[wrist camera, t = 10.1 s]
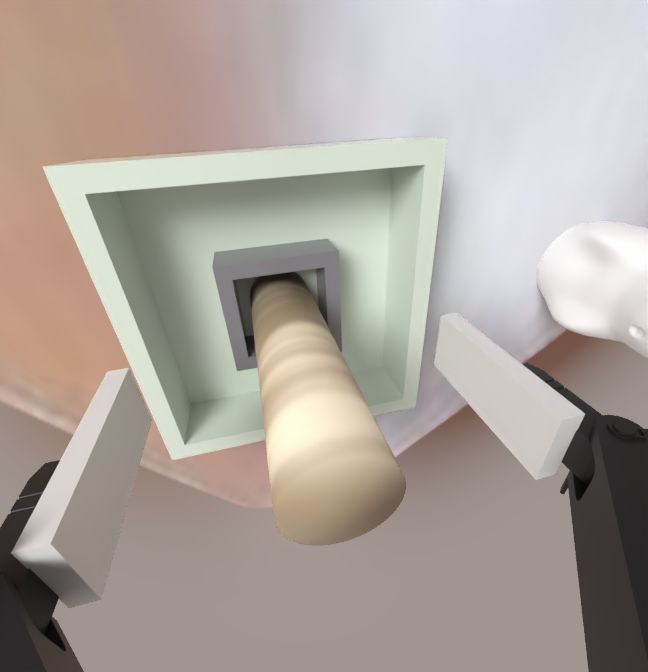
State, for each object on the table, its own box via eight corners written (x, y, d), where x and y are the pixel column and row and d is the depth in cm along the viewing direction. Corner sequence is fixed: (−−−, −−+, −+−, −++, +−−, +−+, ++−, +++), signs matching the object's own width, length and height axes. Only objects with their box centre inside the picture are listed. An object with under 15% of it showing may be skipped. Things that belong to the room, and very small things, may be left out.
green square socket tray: (87, 159, 16) (42, 167, 12) (404, 137, 18) (448, 137, 15) (181, 409, 24) (172, 460, 20) (390, 369, 27) (415, 407, 23)
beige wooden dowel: (244, 272, 19) (263, 477, 8) (305, 264, 20) (410, 443, 8) (255, 326, 21) (283, 558, 10) (310, 317, 22) (401, 525, 10)
